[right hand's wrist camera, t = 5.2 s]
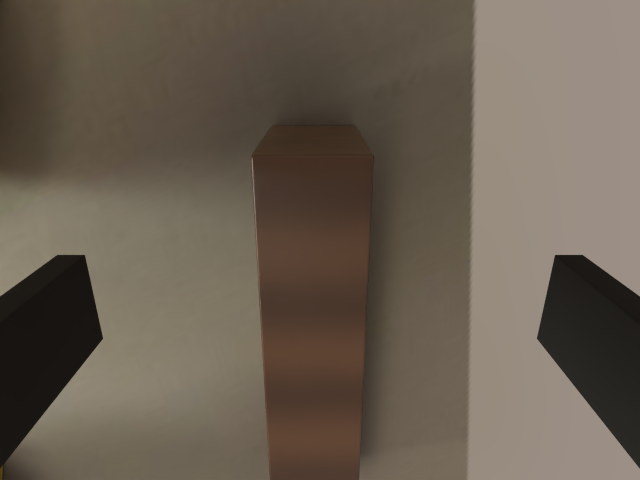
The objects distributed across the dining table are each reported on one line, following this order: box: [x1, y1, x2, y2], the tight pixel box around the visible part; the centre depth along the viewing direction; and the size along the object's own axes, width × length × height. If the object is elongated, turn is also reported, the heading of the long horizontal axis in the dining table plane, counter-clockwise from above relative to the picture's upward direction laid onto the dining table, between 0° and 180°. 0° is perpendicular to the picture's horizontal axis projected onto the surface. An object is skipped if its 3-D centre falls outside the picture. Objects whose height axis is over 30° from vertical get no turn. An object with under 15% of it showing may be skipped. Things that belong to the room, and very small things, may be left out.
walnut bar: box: [251, 126, 374, 480], centre depth 24 cm, size 24×4×8 cm, turn 0°
